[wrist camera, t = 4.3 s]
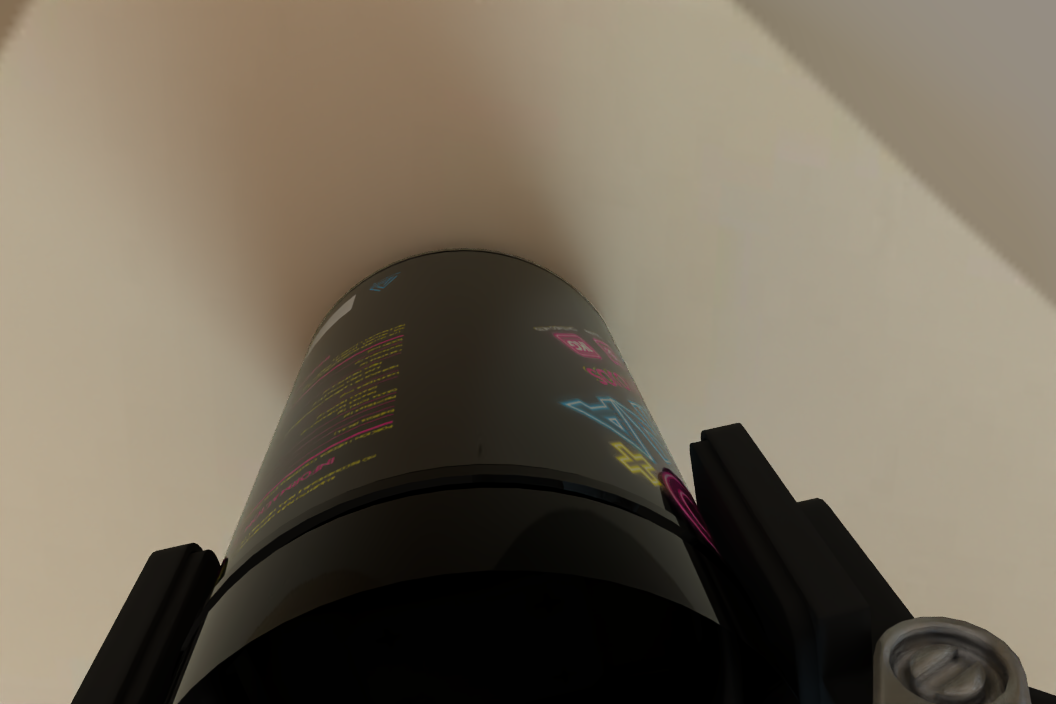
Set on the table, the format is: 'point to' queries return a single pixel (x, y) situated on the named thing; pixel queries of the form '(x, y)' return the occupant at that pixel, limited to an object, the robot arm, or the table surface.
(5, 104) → the table surface
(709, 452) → the robot arm
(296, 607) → the supplement container
